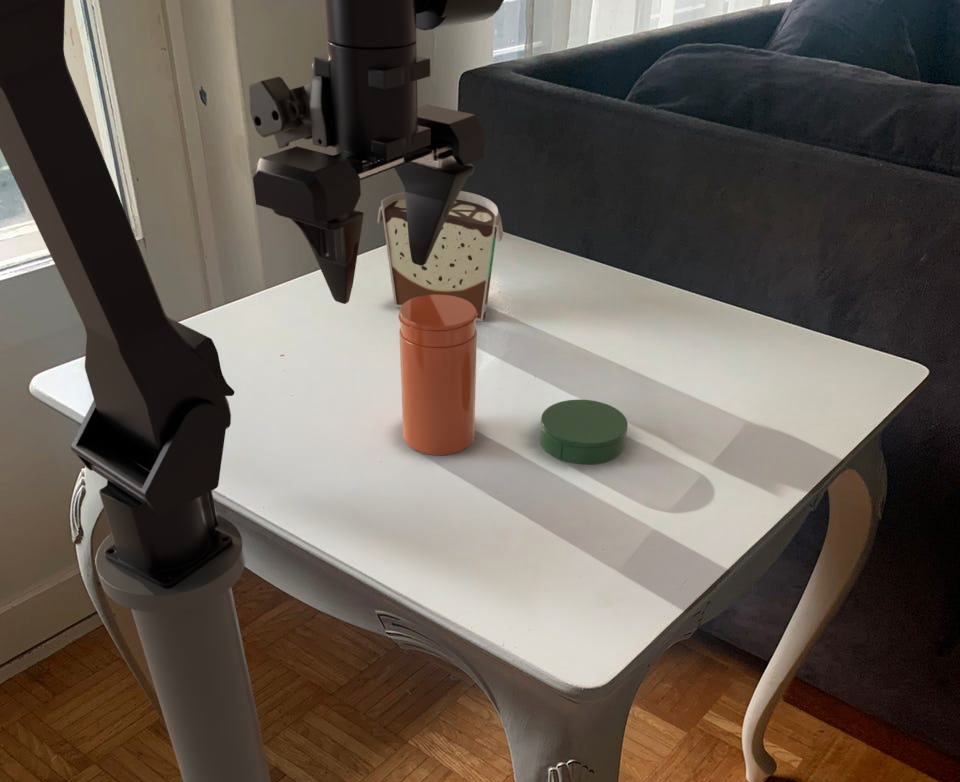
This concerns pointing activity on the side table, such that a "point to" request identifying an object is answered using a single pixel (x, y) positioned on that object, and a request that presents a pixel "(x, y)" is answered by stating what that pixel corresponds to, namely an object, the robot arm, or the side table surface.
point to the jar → (438, 373)
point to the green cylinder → (583, 431)
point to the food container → (444, 251)
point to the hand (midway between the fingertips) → (381, 282)
